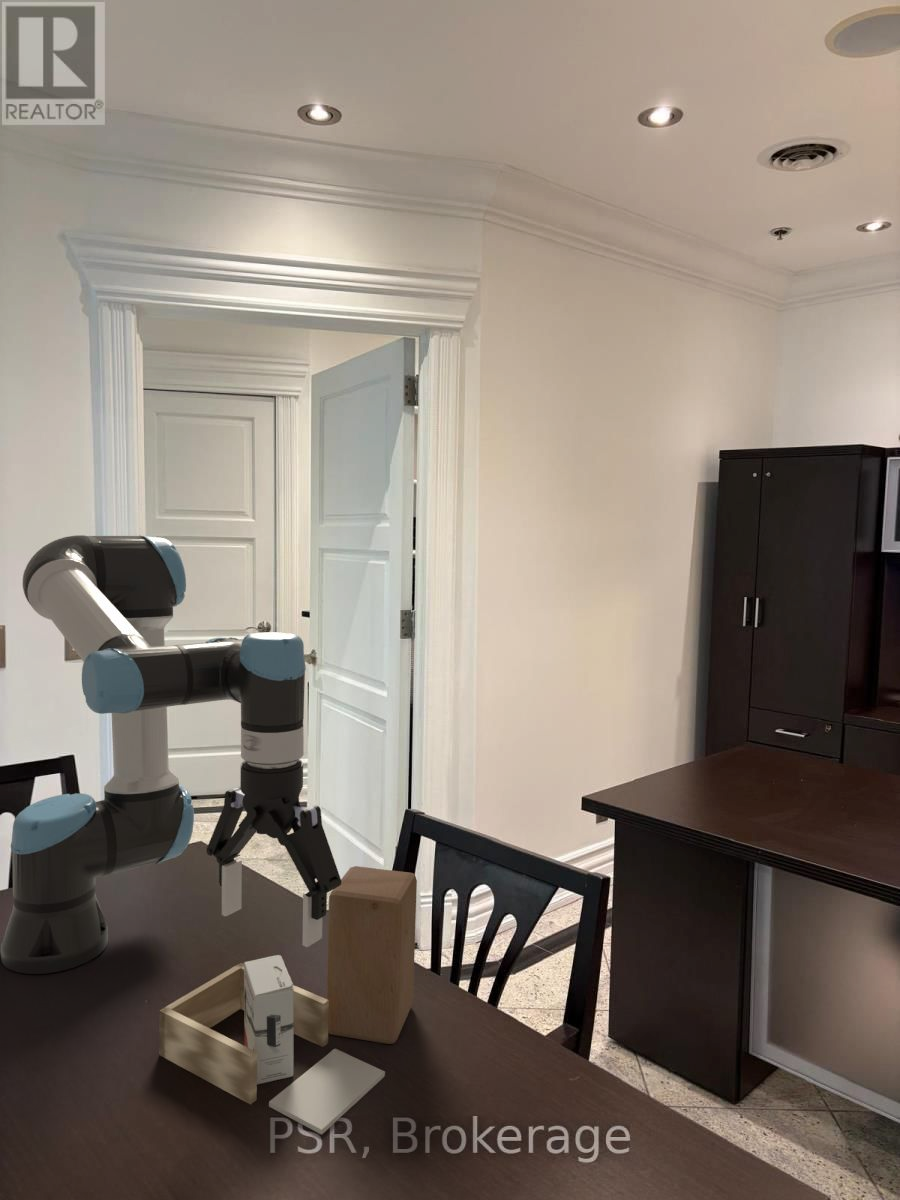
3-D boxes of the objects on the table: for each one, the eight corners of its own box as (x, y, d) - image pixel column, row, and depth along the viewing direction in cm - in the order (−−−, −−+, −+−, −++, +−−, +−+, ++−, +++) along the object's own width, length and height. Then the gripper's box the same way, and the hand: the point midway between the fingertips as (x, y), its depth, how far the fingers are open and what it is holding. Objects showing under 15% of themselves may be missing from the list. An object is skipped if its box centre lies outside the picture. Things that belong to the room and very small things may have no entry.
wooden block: (395, 1048, 110) (400, 902, 108) (323, 1036, 112) (326, 892, 110) (414, 1005, 120) (418, 870, 118) (347, 995, 122) (350, 862, 120)
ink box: (242, 1045, 109) (243, 959, 108) (280, 1037, 111) (281, 952, 110) (253, 1086, 102) (254, 994, 100) (294, 1077, 104) (296, 986, 102)
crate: (159, 1055, 107) (159, 1010, 106) (240, 1002, 119) (240, 962, 118) (250, 1104, 98) (251, 1056, 98) (327, 1043, 110) (328, 1000, 110)
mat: (269, 1106, 98) (269, 1101, 98) (334, 1052, 108) (334, 1048, 108) (321, 1134, 94) (321, 1129, 94) (384, 1076, 104) (384, 1071, 104)
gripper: (178, 749, 106) (178, 911, 108) (331, 786, 93) (328, 969, 95) (223, 737, 112) (222, 890, 114) (372, 770, 99) (368, 942, 101)
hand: (270, 926), depth 104 cm, fingers open, 13 cm apart
